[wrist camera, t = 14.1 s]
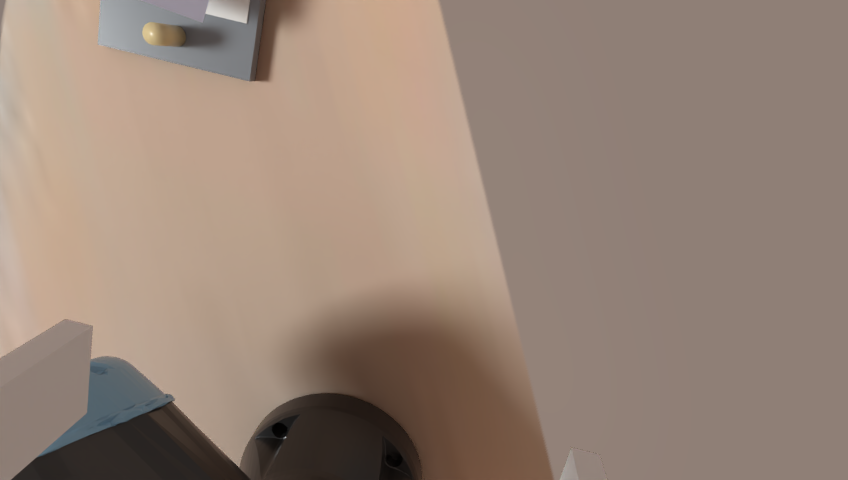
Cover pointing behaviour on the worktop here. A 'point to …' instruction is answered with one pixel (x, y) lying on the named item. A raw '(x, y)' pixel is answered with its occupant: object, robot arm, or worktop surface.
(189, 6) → the wedge on round base
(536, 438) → the worktop surface
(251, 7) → the pin plate
